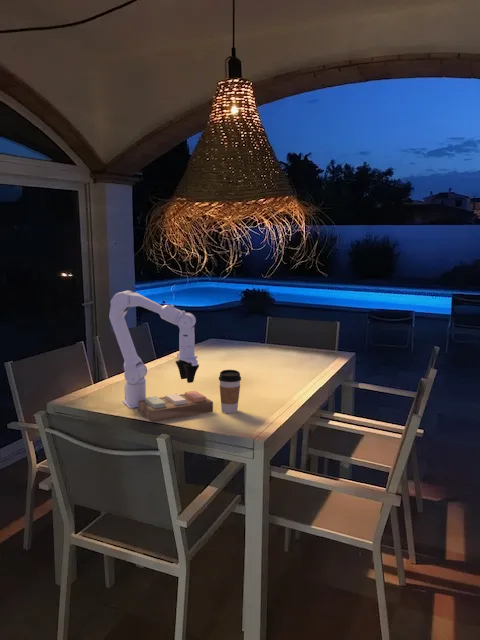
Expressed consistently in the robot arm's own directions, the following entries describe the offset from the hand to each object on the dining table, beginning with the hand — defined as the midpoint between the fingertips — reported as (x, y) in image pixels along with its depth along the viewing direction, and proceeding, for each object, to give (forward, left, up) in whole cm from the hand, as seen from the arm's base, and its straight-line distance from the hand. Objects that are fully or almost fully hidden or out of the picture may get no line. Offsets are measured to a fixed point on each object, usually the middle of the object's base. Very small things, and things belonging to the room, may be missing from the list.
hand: (187, 380), depth 203 cm
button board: (+3, -6, -10) cm, 12 cm away
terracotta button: (+3, +2, -9) cm, 10 cm away
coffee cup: (+12, +12, -11) cm, 20 cm away
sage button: (+3, -14, -9) cm, 17 cm away
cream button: (+3, -6, -9) cm, 11 cm away
